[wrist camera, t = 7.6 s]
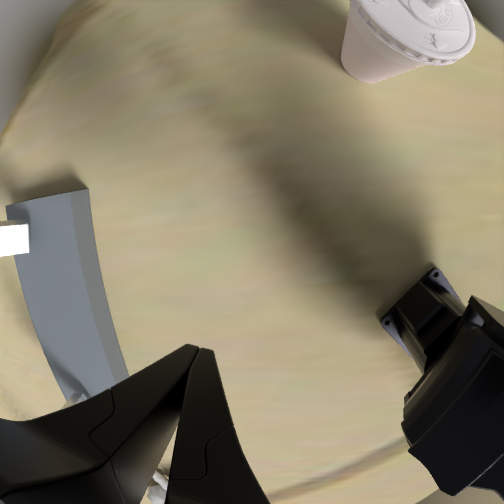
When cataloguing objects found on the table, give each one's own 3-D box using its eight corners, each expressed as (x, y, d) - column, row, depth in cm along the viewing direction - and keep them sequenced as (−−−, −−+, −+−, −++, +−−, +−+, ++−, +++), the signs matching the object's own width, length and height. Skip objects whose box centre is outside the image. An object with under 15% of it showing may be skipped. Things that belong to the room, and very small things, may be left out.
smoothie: (387, 117, 17) (529, 69, 4) (306, 72, 17) (348, -62, 4) (415, 54, 16) (530, -22, 2) (340, 11, 15) (394, -115, 2)
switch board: (88, 188, 21) (70, 192, 18) (141, 408, 27) (133, 423, 25) (23, 201, 22) (5, 205, 19) (78, 393, 28) (69, 405, 26)
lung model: (210, 522, 37) (111, 449, 35) (287, 509, 33) (181, 429, 31) (203, 546, 31) (93, 475, 28) (285, 540, 27) (164, 465, 25)
